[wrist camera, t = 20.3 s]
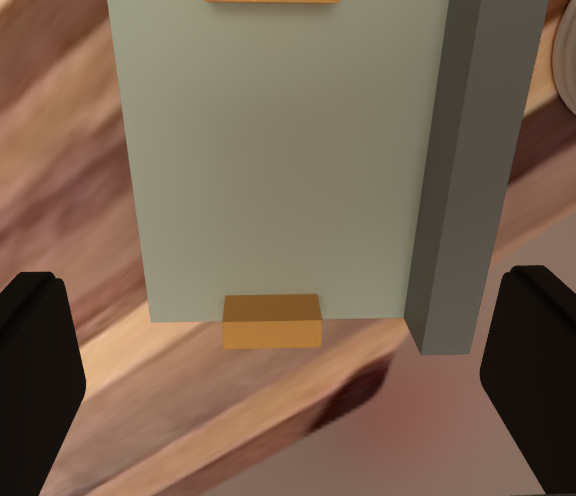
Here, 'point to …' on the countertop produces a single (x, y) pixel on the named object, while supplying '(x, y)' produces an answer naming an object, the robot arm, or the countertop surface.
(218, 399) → the countertop surface
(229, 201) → the deck plate
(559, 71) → the coaster
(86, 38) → the countertop surface
